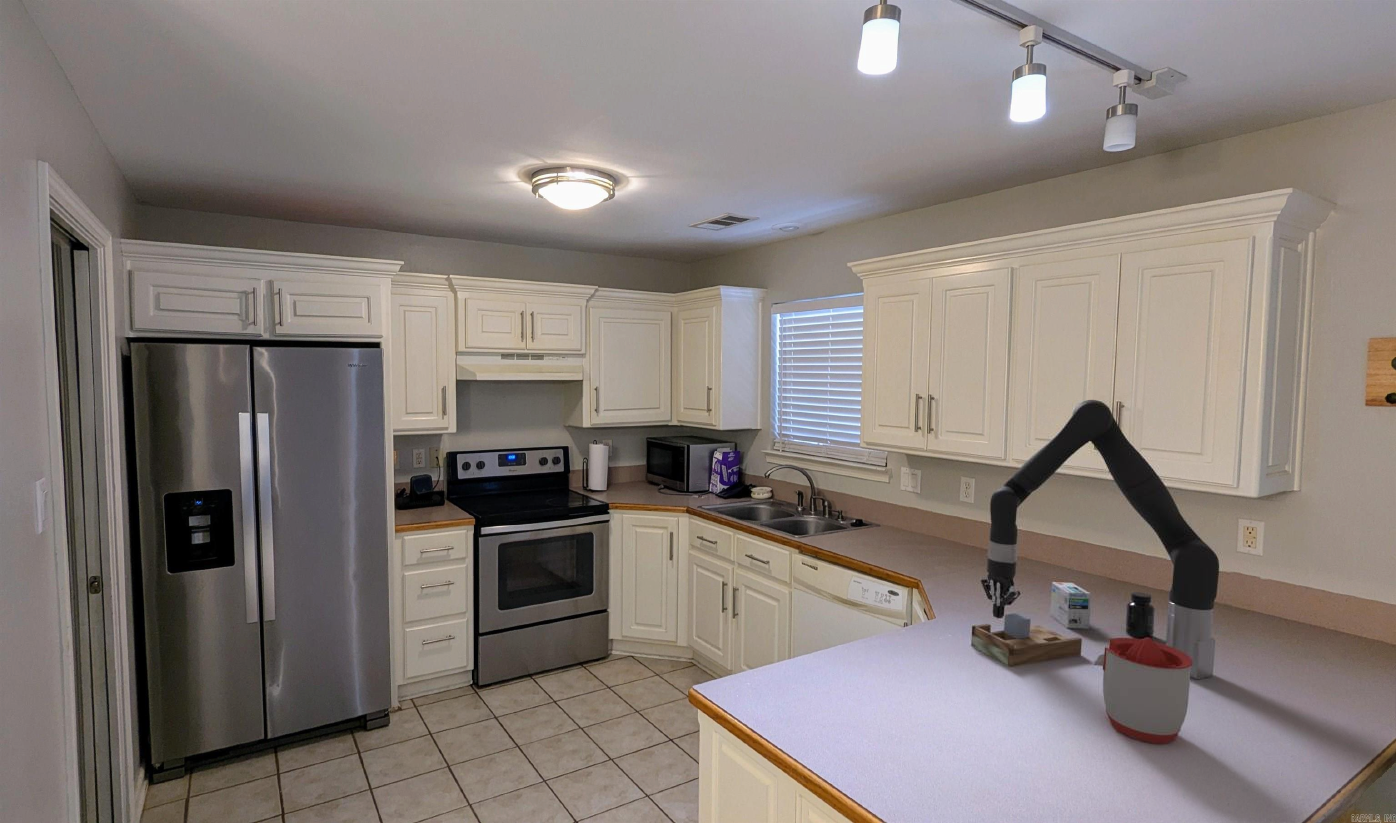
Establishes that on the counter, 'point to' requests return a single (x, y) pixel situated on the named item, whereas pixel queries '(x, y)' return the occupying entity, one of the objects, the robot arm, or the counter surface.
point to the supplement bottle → (1140, 616)
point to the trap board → (1024, 645)
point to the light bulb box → (1070, 605)
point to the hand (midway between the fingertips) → (998, 617)
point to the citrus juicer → (1145, 688)
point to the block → (1017, 625)
